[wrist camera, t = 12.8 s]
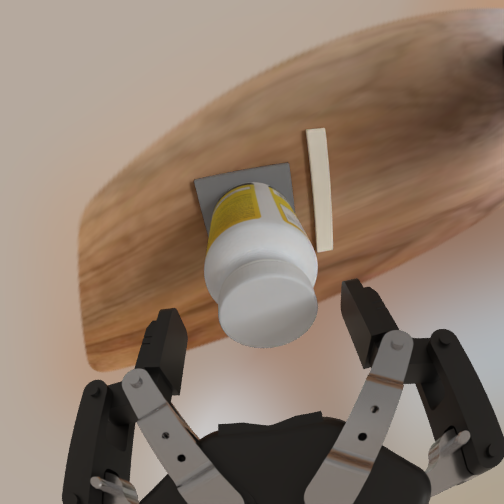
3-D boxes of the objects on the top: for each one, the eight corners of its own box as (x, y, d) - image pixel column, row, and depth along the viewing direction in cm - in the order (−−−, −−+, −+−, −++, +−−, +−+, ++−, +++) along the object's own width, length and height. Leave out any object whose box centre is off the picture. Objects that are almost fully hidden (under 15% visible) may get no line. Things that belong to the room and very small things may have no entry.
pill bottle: (199, 231, 23) (176, 335, 13) (237, 164, 20) (240, 229, 10) (265, 263, 25) (284, 370, 15) (306, 204, 22) (362, 292, 12)
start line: (323, 127, 19) (325, 128, 19) (331, 247, 25) (332, 249, 24) (305, 129, 19) (306, 129, 19) (316, 250, 25) (317, 252, 24)
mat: (287, 162, 21) (289, 163, 20) (297, 249, 25) (298, 251, 24) (194, 179, 21) (193, 180, 20) (216, 263, 25) (216, 266, 24)
